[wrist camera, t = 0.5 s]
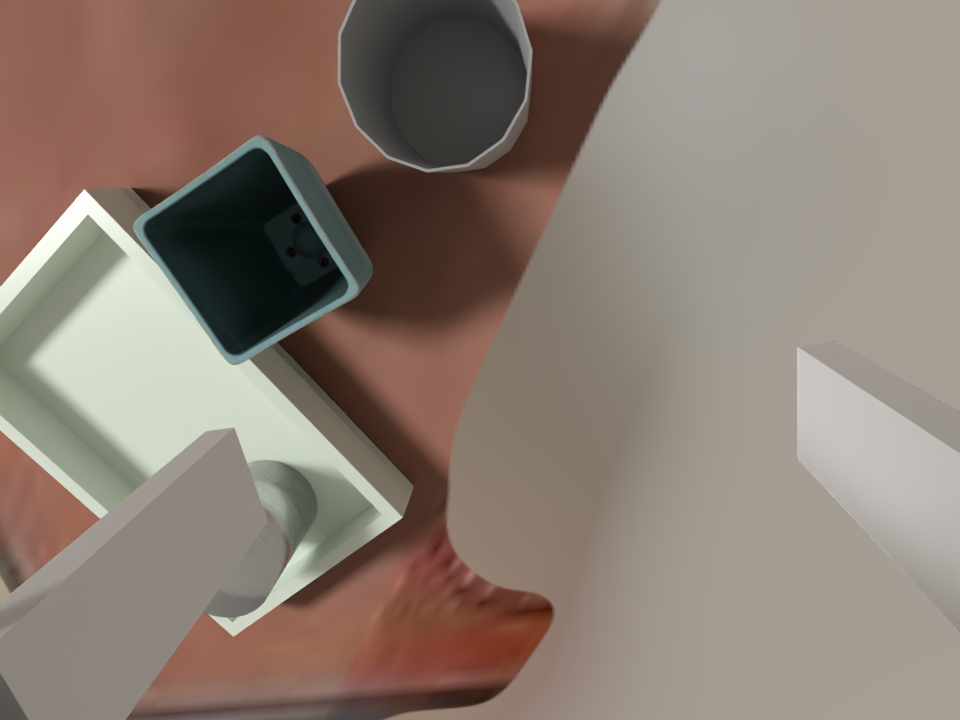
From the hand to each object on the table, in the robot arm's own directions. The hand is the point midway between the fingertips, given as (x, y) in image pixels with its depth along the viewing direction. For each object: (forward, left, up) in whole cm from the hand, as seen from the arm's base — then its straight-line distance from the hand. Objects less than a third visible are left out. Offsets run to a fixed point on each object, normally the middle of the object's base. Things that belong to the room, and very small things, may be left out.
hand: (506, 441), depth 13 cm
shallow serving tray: (-6, -25, -24) cm, 36 cm away
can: (+2, -25, -23) cm, 34 cm away
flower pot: (-10, -9, -24) cm, 28 cm away
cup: (-10, +4, -24) cm, 27 cm away
